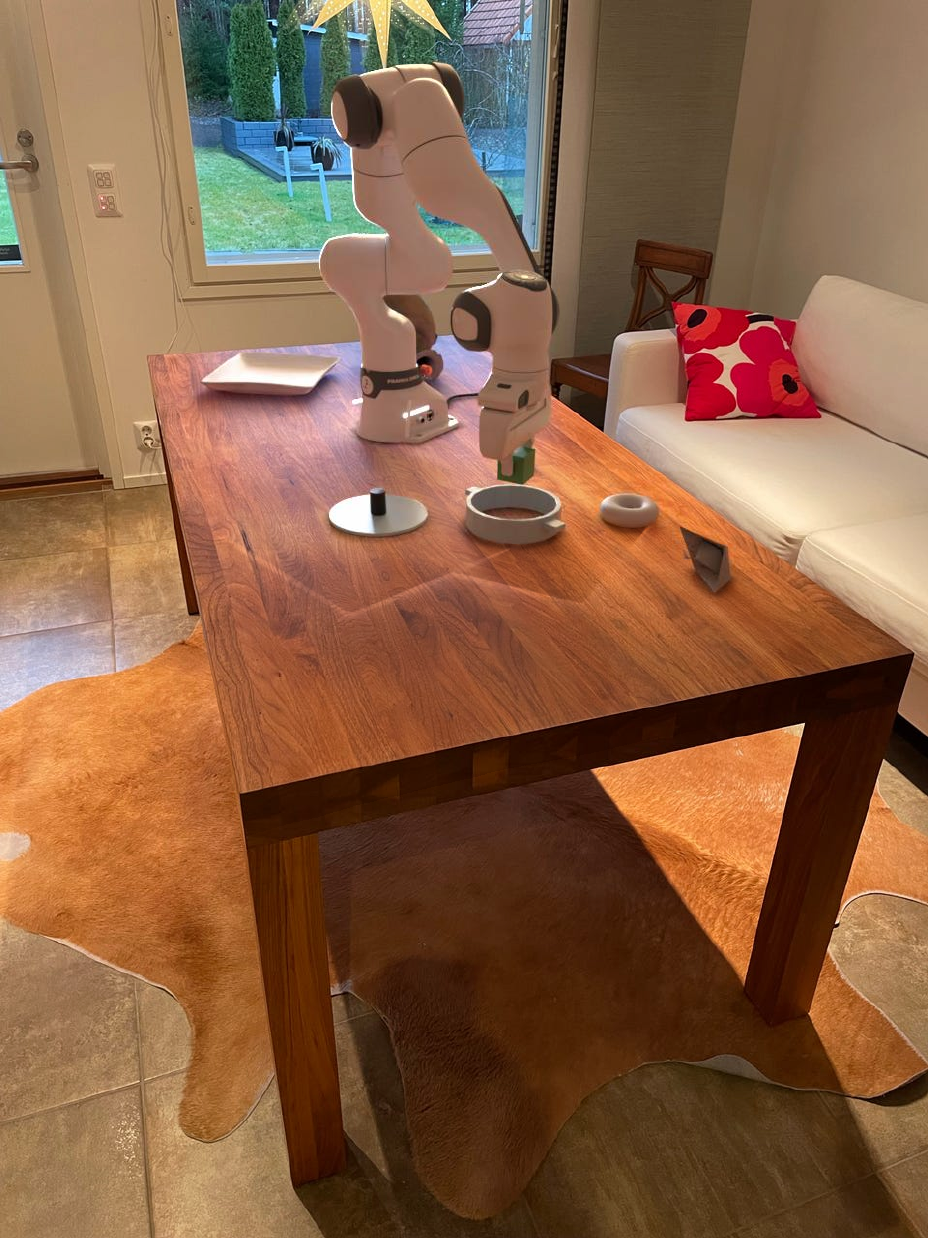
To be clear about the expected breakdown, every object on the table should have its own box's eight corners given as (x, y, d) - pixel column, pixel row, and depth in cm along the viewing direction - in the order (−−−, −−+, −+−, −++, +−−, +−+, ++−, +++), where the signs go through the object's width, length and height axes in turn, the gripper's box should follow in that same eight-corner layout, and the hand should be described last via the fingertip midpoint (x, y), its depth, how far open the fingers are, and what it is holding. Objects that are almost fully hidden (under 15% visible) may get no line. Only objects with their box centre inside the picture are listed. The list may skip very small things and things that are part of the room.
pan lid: (386, 492, 166) (385, 465, 163) (448, 521, 155) (448, 492, 153) (309, 517, 156) (307, 488, 153) (369, 549, 145) (368, 519, 143)
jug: (358, 355, 250) (394, 404, 229) (343, 285, 236) (380, 331, 215) (427, 335, 254) (468, 381, 233) (417, 265, 240) (460, 308, 220)
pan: (501, 496, 165) (502, 472, 163) (591, 533, 152) (593, 508, 150) (436, 519, 156) (436, 495, 154) (525, 561, 143) (526, 534, 140)
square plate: (240, 365, 240) (238, 350, 238) (342, 370, 236) (342, 355, 235) (200, 394, 216) (198, 378, 214) (313, 401, 213) (312, 384, 211)
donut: (653, 536, 152) (662, 512, 160) (655, 517, 150) (664, 494, 158) (593, 527, 154) (605, 504, 162) (595, 508, 153) (607, 486, 161)
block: (508, 470, 153) (509, 444, 150) (534, 475, 151) (535, 448, 148) (496, 479, 149) (497, 452, 147) (522, 485, 147) (524, 457, 145)
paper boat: (757, 578, 136) (719, 579, 130) (726, 602, 140) (689, 604, 135) (718, 513, 141) (680, 512, 135) (690, 538, 145) (652, 538, 139)
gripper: (527, 364, 151) (523, 445, 158) (472, 397, 135) (470, 485, 142) (563, 370, 149) (557, 451, 156) (511, 404, 133) (507, 493, 140)
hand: (515, 468), depth 149 cm, fingers closed on block, 4 cm apart
